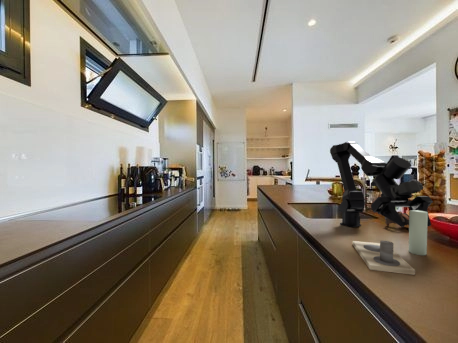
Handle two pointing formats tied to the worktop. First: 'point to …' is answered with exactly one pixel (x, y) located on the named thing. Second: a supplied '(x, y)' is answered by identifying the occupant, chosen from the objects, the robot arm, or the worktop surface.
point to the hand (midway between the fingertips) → (416, 226)
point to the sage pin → (418, 232)
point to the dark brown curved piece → (403, 216)
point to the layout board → (379, 266)
